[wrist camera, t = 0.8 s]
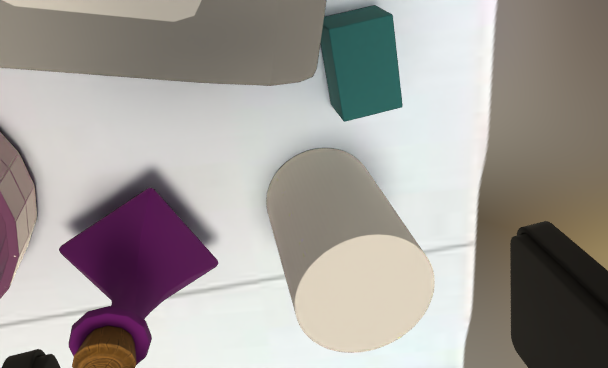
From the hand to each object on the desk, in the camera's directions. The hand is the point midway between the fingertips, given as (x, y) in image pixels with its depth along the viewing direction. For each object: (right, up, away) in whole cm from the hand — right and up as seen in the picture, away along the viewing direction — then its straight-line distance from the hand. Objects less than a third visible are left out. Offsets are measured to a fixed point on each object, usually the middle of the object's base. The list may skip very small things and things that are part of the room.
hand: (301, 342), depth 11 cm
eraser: (+3, +12, +27) cm, 29 cm away
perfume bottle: (-11, 0, +30) cm, 32 cm away
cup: (+1, +2, +31) cm, 31 cm away
